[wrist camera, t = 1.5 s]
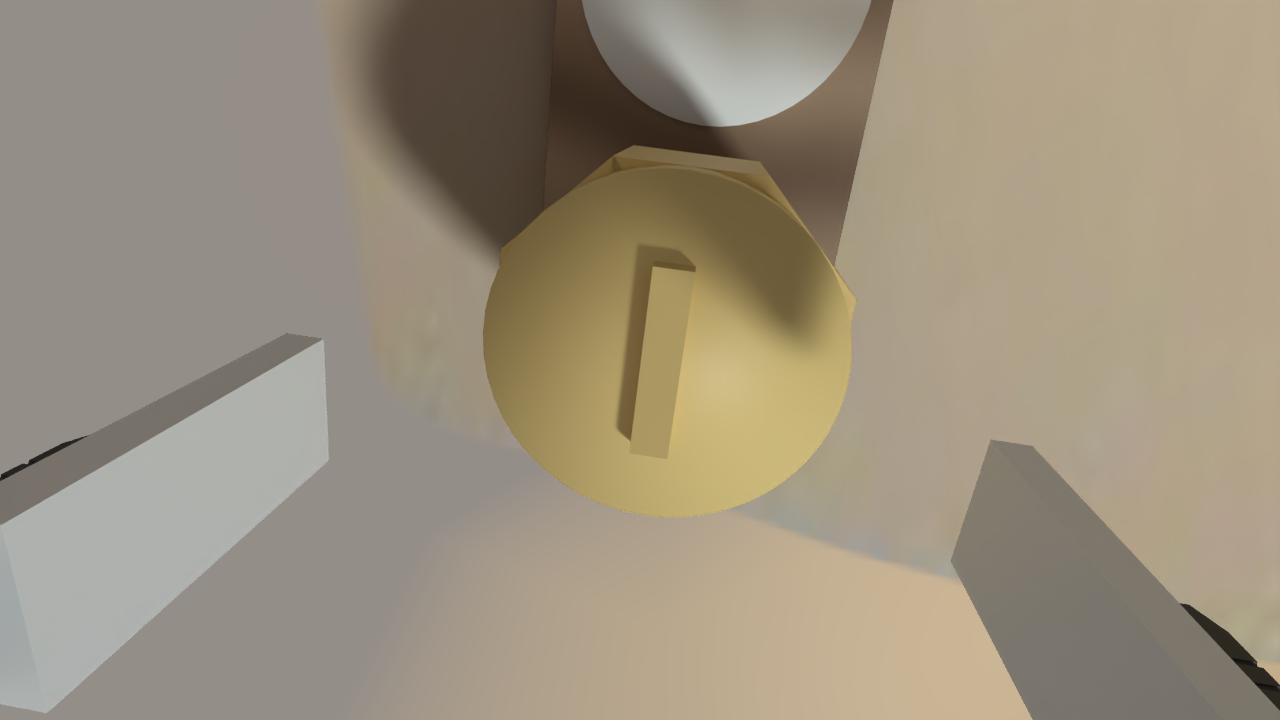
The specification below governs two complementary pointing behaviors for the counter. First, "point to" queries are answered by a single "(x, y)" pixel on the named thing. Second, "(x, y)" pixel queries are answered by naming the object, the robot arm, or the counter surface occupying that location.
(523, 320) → the cap
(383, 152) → the counter surface
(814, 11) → the post board
